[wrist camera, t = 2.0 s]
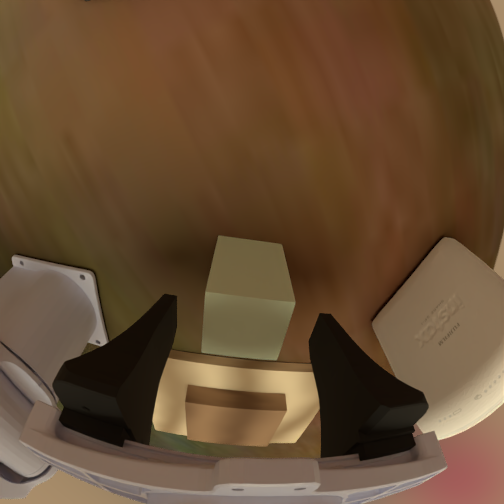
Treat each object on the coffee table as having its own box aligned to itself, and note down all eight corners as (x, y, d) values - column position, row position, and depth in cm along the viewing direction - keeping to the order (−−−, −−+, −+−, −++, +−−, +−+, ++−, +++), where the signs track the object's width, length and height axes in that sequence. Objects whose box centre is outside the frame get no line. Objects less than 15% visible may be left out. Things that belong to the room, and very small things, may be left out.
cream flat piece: (156, 423, 29) (152, 442, 26) (139, 343, 22) (129, 368, 19) (294, 436, 30) (296, 455, 28) (340, 364, 23) (347, 389, 20)
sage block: (212, 288, 19) (201, 352, 14) (218, 235, 17) (205, 291, 12) (270, 295, 19) (276, 360, 14) (281, 243, 18) (295, 302, 12)
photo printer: (444, 224, 17) (557, 328, 6) (466, 251, 18) (558, 347, 7) (361, 323, 21) (414, 458, 10) (390, 338, 22) (442, 454, 11)
